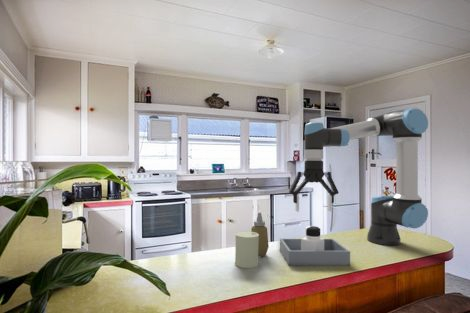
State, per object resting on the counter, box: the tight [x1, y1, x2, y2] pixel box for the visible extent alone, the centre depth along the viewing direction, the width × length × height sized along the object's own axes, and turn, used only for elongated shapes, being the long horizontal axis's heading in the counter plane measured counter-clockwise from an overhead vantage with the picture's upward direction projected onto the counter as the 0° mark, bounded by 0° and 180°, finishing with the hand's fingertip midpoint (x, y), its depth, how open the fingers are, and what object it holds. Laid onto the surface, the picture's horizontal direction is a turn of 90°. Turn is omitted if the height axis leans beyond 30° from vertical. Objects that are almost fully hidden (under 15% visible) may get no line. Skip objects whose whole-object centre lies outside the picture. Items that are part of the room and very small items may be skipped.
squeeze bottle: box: [250, 212, 270, 258], centre depth 126 cm, size 8×8×18 cm
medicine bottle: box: [300, 225, 325, 251], centre depth 124 cm, size 7×7×12 cm
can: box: [234, 230, 259, 269], centre depth 116 cm, size 9×9×12 cm
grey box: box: [279, 238, 351, 267], centre depth 124 cm, size 24×18×6 cm
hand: (313, 211), depth 124 cm, fingers open, 13 cm apart
